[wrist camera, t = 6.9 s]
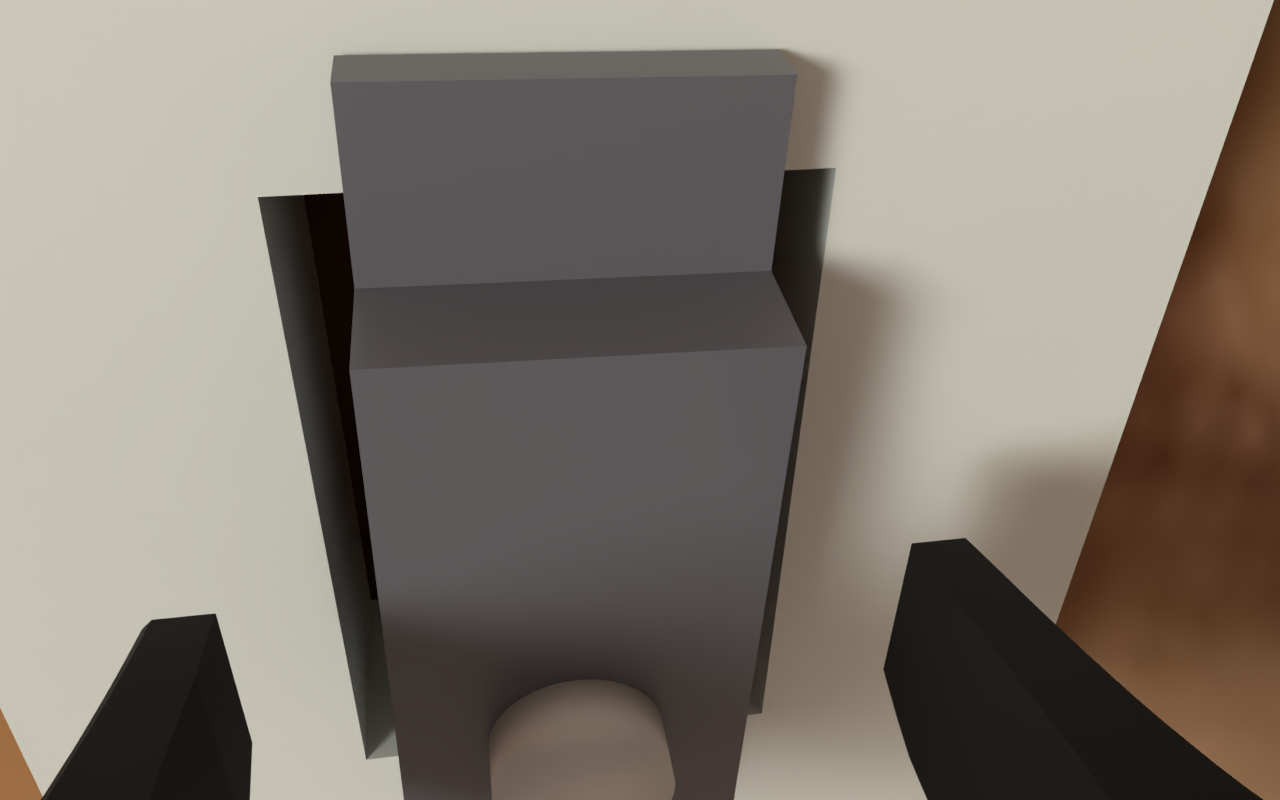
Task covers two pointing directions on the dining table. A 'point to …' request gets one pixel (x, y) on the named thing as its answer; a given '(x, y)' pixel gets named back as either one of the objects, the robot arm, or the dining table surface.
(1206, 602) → the dining table surface
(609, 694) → the block
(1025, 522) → the chassis
